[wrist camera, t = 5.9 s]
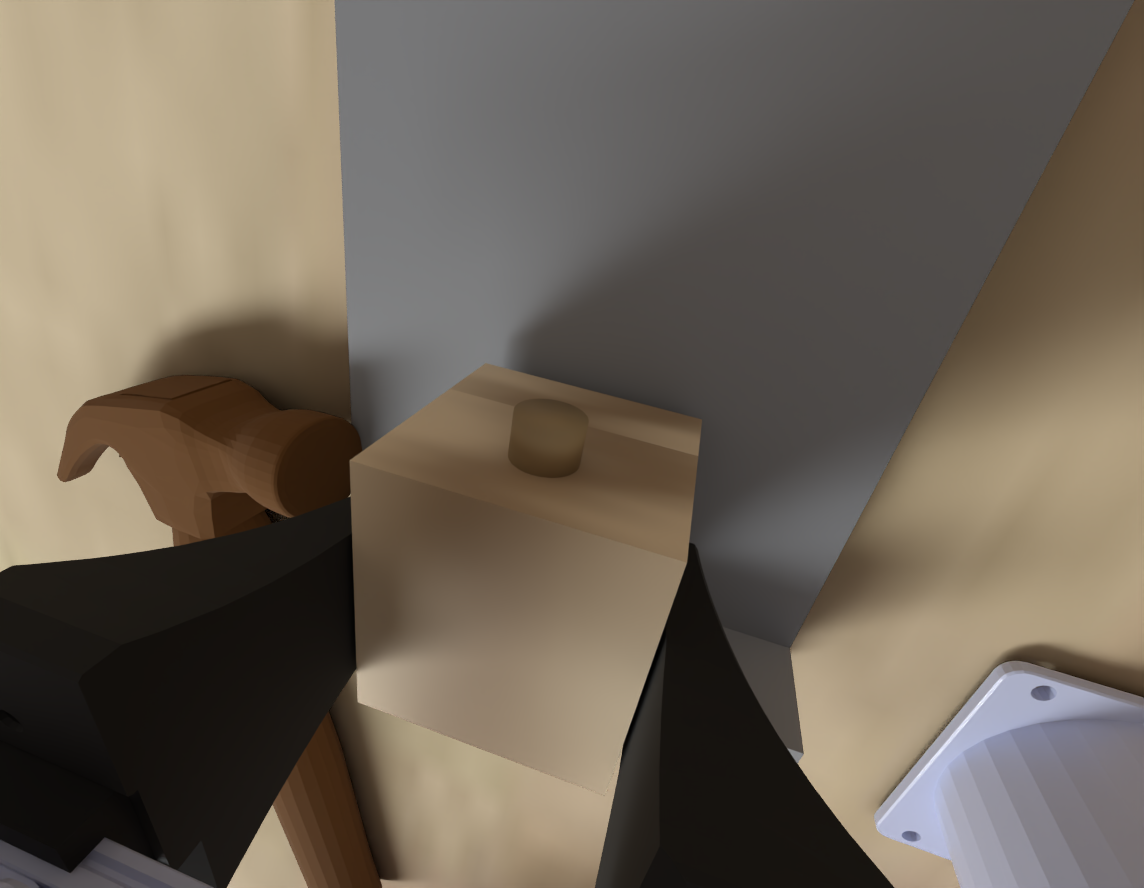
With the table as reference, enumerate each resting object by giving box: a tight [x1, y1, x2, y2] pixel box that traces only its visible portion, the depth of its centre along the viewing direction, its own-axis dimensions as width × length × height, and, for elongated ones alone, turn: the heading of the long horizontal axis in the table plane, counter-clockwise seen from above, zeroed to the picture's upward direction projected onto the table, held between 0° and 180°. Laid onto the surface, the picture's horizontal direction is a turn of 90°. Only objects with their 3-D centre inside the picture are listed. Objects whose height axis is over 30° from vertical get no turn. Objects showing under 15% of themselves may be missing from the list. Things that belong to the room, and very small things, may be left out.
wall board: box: [335, 0, 1134, 763], centre depth 11 cm, size 13×18×4 cm
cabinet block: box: [350, 363, 702, 796], centre depth 11 cm, size 5×6×5 cm
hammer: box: [57, 375, 382, 888], centre depth 22 cm, size 12×3×30 cm
